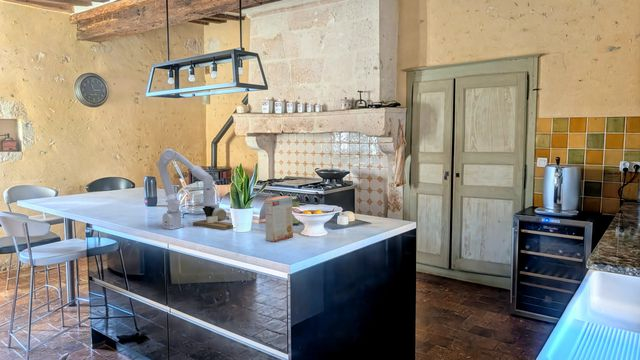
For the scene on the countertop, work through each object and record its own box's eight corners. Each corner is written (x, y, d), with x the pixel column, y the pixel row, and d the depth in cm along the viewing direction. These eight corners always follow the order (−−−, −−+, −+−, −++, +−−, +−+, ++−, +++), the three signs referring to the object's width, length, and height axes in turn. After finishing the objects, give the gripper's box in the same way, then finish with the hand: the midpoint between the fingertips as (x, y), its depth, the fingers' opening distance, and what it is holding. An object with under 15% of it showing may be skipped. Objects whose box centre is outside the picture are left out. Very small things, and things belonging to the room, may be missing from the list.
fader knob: (211, 223, 256) (210, 217, 256) (207, 222, 258) (207, 216, 257) (217, 221, 260) (217, 215, 260) (213, 221, 262) (213, 215, 261)
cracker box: (284, 235, 234) (284, 195, 232) (293, 237, 231) (293, 196, 229) (264, 240, 224) (264, 198, 222) (273, 242, 220) (273, 199, 218)
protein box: (298, 225, 260) (298, 198, 258) (271, 225, 259) (271, 198, 258) (299, 222, 270) (299, 196, 268) (273, 222, 270) (272, 196, 268)
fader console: (223, 230, 248) (223, 226, 247) (193, 225, 260) (192, 222, 260) (236, 227, 256) (236, 223, 256) (206, 222, 269) (206, 219, 269)
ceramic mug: (216, 221, 273) (216, 208, 272) (209, 219, 279) (209, 207, 278) (232, 219, 280) (231, 207, 279) (225, 217, 286) (225, 205, 285)
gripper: (222, 196, 258) (223, 219, 260) (204, 194, 266) (205, 217, 267) (213, 197, 252) (214, 221, 254) (195, 195, 260) (196, 219, 262)
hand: (209, 219), depth 260 cm, fingers closed
